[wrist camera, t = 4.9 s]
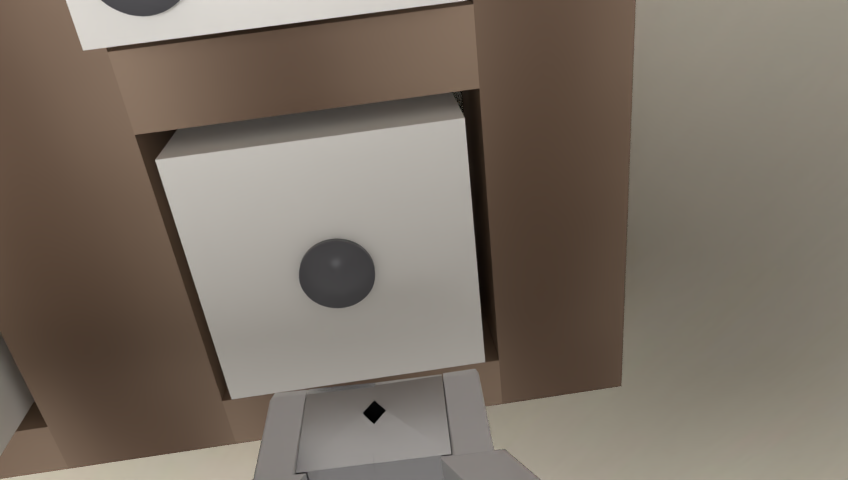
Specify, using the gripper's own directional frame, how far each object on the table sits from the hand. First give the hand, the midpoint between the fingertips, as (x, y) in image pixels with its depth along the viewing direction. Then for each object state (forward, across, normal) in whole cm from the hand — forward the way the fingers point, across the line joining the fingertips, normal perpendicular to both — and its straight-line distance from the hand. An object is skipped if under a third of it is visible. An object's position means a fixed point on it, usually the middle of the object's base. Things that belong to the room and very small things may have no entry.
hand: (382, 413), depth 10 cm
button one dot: (+8, +1, 0) cm, 8 cm away
